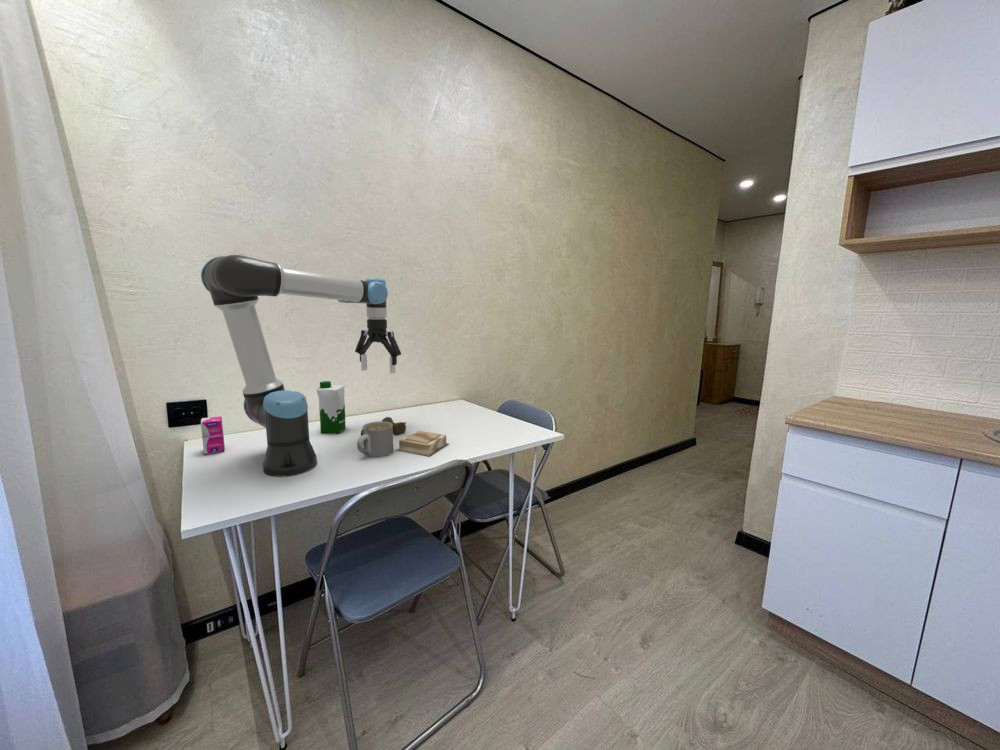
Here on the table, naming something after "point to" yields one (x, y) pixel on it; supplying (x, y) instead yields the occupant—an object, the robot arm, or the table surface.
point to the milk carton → (331, 407)
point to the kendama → (394, 426)
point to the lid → (422, 442)
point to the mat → (422, 454)
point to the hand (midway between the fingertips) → (378, 371)
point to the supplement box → (212, 435)
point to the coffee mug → (376, 439)
